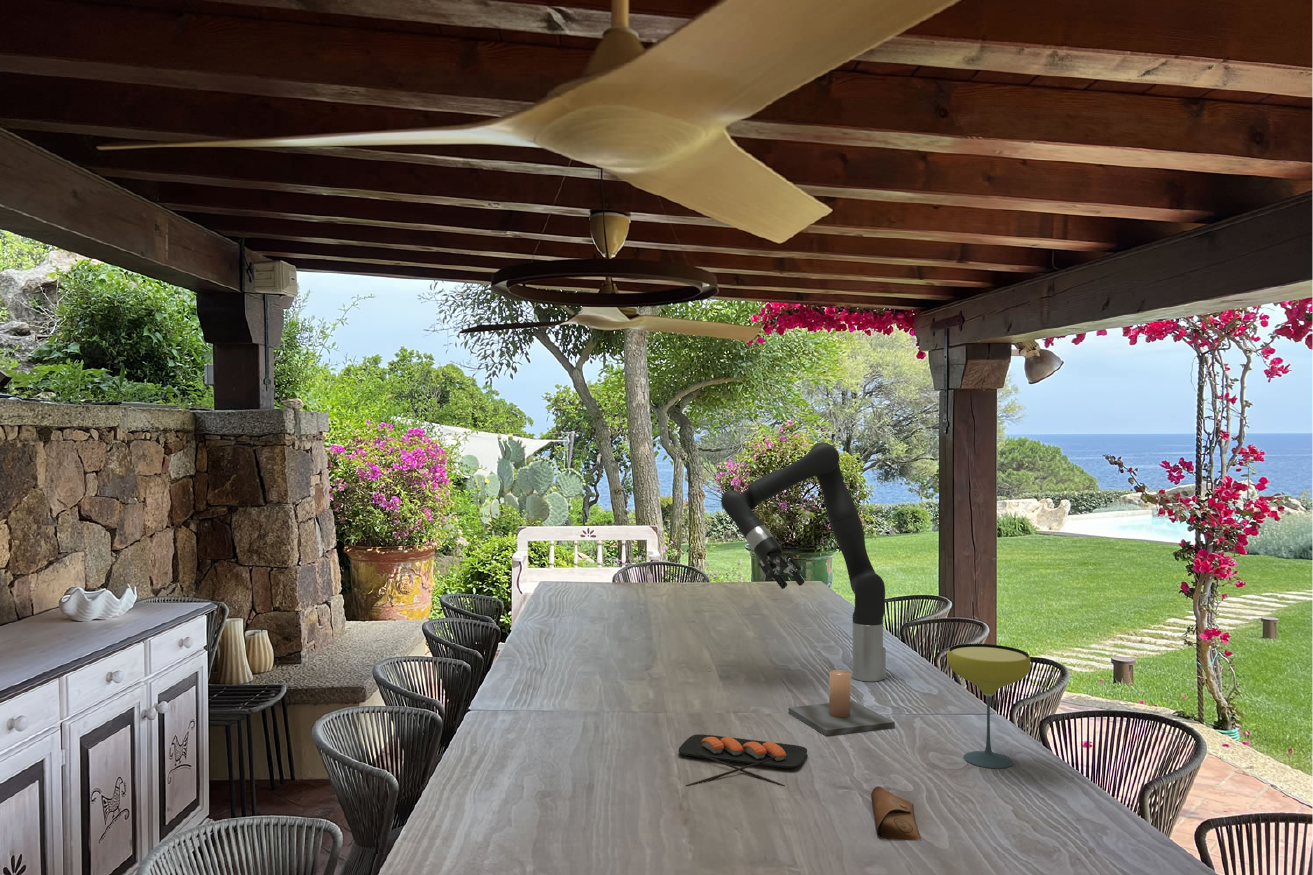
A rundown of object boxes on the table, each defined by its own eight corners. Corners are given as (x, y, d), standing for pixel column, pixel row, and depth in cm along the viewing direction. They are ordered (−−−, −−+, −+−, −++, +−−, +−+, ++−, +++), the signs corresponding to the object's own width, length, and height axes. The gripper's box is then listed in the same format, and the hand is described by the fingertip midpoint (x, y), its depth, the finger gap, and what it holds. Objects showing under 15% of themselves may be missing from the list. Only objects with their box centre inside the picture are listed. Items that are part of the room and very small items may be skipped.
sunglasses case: (924, 841, 165) (905, 808, 166) (890, 858, 166) (871, 825, 167) (913, 802, 183) (895, 773, 183) (882, 818, 184) (865, 789, 184)
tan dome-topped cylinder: (844, 710, 240) (844, 669, 240) (854, 716, 235) (854, 674, 235) (825, 711, 239) (826, 670, 239) (834, 718, 233) (835, 676, 233)
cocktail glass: (1022, 780, 195) (1022, 665, 195) (938, 764, 204) (938, 654, 204) (1036, 755, 210) (1037, 649, 210) (957, 741, 220) (957, 640, 220)
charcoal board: (852, 705, 249) (852, 700, 249) (894, 727, 230) (894, 721, 230) (788, 712, 243) (788, 707, 243) (826, 736, 224) (826, 730, 224)
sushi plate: (810, 754, 212) (810, 738, 212) (783, 802, 184) (784, 784, 184) (693, 740, 222) (693, 724, 222) (651, 784, 194) (651, 766, 194)
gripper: (755, 537, 268) (786, 580, 260) (784, 534, 278) (815, 575, 270) (741, 553, 271) (772, 596, 263) (770, 549, 282) (800, 590, 273)
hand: (793, 585), depth 267 cm, fingers open, 8 cm apart
